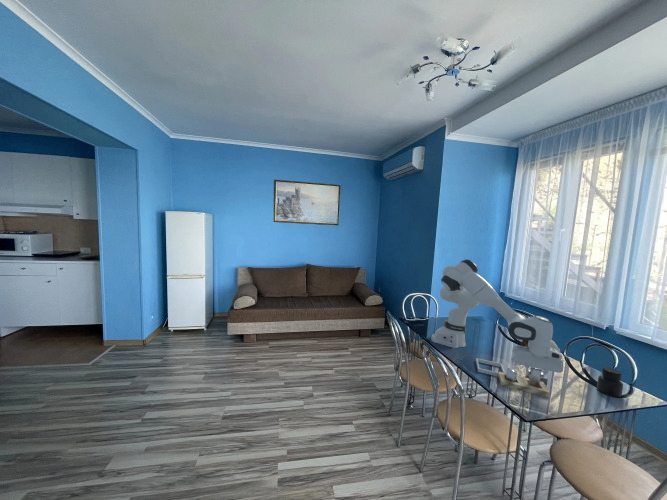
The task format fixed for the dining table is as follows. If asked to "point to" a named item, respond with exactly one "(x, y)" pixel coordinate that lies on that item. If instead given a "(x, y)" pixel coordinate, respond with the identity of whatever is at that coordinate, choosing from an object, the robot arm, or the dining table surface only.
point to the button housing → (541, 379)
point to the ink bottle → (610, 382)
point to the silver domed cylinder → (511, 375)
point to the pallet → (524, 385)
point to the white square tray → (489, 364)
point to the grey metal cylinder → (535, 375)
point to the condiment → (524, 343)
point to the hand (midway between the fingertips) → (535, 375)
